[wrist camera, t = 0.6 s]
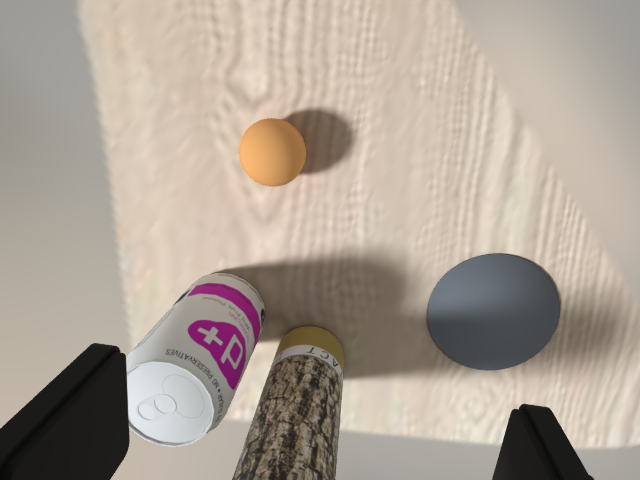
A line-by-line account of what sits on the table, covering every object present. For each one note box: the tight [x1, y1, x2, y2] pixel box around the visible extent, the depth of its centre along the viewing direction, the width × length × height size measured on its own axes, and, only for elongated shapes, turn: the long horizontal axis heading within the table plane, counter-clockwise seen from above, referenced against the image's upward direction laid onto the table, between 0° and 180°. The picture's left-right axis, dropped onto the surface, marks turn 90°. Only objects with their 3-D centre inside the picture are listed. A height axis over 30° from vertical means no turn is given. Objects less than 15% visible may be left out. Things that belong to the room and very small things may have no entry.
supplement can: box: [126, 273, 266, 447], centre depth 39 cm, size 8×8×15 cm
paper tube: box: [232, 326, 344, 480], centre depth 35 cm, size 7×7×25 cm
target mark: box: [427, 254, 560, 370], centre depth 43 cm, size 12×12×1 cm
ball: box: [239, 118, 306, 186], centre depth 38 cm, size 6×6×6 cm
